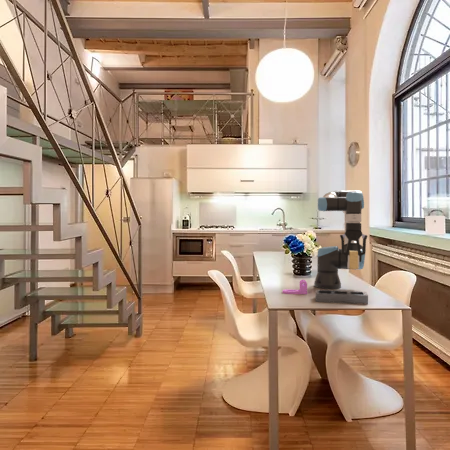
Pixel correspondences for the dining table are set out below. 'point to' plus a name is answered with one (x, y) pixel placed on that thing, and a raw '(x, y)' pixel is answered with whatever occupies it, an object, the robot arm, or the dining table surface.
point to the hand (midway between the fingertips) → (353, 268)
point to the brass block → (353, 259)
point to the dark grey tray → (341, 296)
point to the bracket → (301, 291)
